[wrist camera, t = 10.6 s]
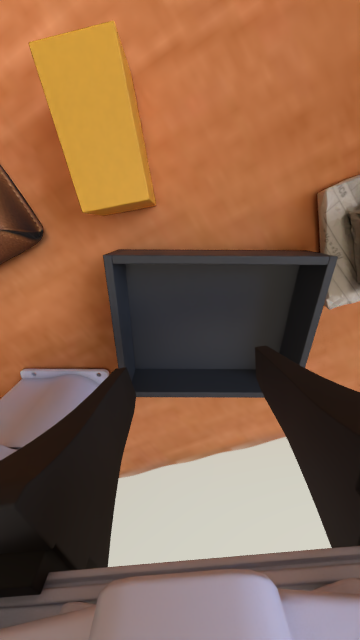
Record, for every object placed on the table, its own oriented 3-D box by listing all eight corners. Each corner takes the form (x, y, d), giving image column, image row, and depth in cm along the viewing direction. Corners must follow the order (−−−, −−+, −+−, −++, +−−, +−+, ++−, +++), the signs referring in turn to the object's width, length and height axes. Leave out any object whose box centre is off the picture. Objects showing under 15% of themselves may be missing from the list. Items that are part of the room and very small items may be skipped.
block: (103, 216, 17) (82, 213, 13) (67, 90, 14) (27, 41, 10) (156, 205, 17) (149, 199, 13) (131, 75, 14) (113, 18, 10)
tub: (131, 370, 23) (122, 397, 19) (118, 249, 18) (102, 254, 14) (277, 370, 23) (296, 397, 19) (306, 250, 18) (338, 256, 14)
